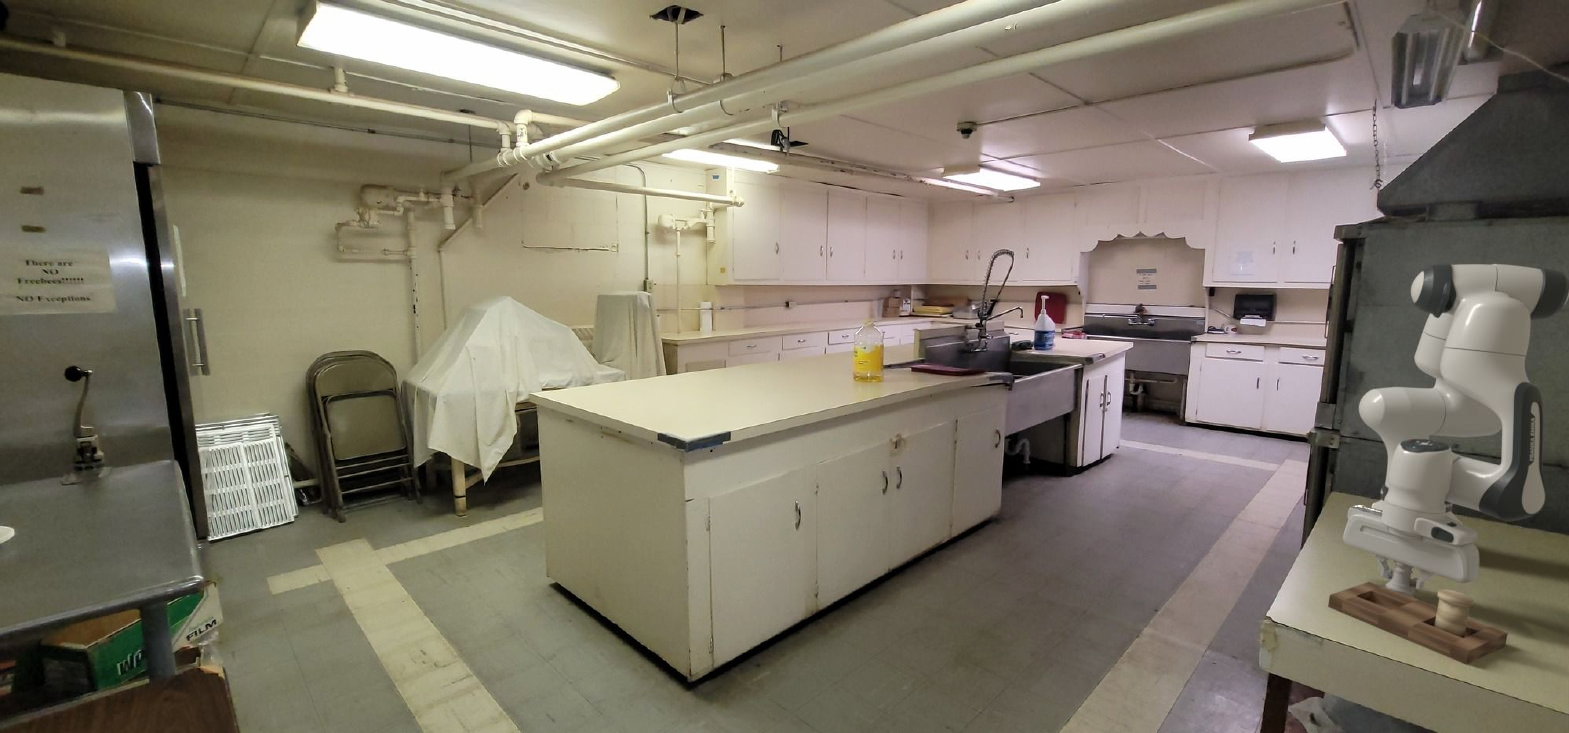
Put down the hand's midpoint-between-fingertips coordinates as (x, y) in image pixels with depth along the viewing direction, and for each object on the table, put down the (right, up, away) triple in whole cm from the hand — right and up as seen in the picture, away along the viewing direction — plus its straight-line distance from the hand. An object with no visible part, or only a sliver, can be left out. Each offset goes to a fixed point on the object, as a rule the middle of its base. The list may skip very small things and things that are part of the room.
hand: (1401, 582), depth 129 cm
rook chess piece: (0, -3, 0) cm, 3 cm away
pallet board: (-8, -4, -11) cm, 14 cm away
